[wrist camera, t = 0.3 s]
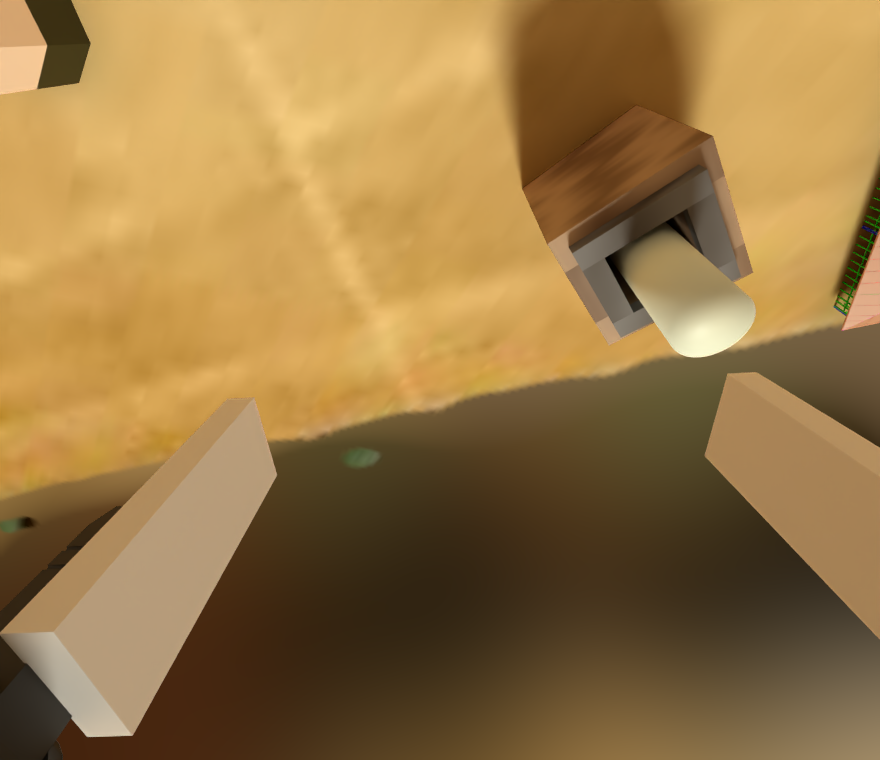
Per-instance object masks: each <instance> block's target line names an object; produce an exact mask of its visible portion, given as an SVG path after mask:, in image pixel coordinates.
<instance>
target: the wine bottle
mask: <svg viewBox="0 0 880 760" xmlns="http://www.w3.org/2000/svg"><path fill="white" fill-rule="evenodd" d="M89 47H90V42H89V39H88V37H87V35H86V33H85V31H84V28H83V26H82V24H81V22H80V19H79V17H78V15H77V13H76V11H75V8H74V6H73V4H72V2H71V0H0V94H7V93H14V92H21V91H27V90H34V89H41V88H48V87H55V86H62V85H68V84H75V83H79V81H80V77H81V74H82V71H83V67H84V64H85V60H86V57H87V54H88V50H89Z"/></svg>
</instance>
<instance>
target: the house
mask: <svg viewBox="0 0 880 760" xmlns="http://www.w3.org/2000/svg"><path fill="white" fill-rule="evenodd" d="M879 179H880V178H879ZM876 189H878V190H880V188H878V187H877V188H876ZM872 198H874V199H876V200H879V201H880V199H878V198H875V197H872ZM869 207H870V208H872V209H874V210H877V211H879V212H880V210H879V209H876V208H874V207H871V206H869ZM866 216H867V217H869V218H871V219H873V220H876V221H877V222H876V225H875V224H873V223H870V222H868V221H866V220H864V222H867V223H869V224H871V225H872V226H874V227H875V229H874V230H872V229H870V228H868V227H866V226H864V225H863V227H861V228H862V229H864V230H866V231H869V232H871V233H872V235H871V238H870V240H868V239H866V238H864V237H862V236H859V237H861V238H863V239H864V240H866V241H868V242H869V245H868V247H867V249H866V248H864V247H862V246H861V245H859V244H855V245H857V246H859V247H861V248H863V249H865V250H866V251H865V254H864V257H863V256H861V255H859V254H858V253H856V252H853V253H854V254H856V255H858V256H860V257H862V258H863V261H862V263H861V265H860V264H859V263H857V262H855V261H853V260H852V259H851V260H850V261H852V262H854V263H856V264H857V265H859V266H860V267H859V270H858V272H856V271H855V270H853V269H851V268H850V267H847V268H848V269H850V270H852V271H853V272H855V273H857V277H856V279H855V280H854V279H853V278H851V277H850V276H848V275H845V276H847V277H848V278H850V279H852V280H853V281H854V283H853V286H852V287H851V286H850V285H848V284H847V283H845V282H842V283H844V284H845V285H847V286H848V287H850V288H852V290H851V293H850V294H848V293H847V292H845V291H844V290H842V289H840V290H841V291H843V292H844V293H846V294H847V295H849V297H848V299H847V301H846V300H845V299H843V298H842V297H840V296H838V297H839V298H840V299H842V300H843V301H845V302H846V304H844V305H845V306H844V305H843V304H841V303H840V302H839V301H836V302H837V303H839V304H840V305H842V306H843V307H844V310H841V309H840V308H838V307H837V306H836V305H834V308H836V309H837V310H838V311H840V312H841V313H843V314H844V315H845V316H846V318H845V321H844V323H843V326H842V328H841V330H842V331H843V330H847V329H852V328H857V327H862V326H866V325H871V324H876V323H880V227H879V226H877V224H878V222H880V221H879V220H880V215H879V218H878V220H877V219H875V218H873V217H871V216H868V215H866ZM876 228H879V230H877V231H875V230H876ZM878 231H879V232H878ZM873 234H875V235H877V237H876V240H875V242H872V241H871V240H872V237H873ZM870 243H872V244H874V245H873V247H872V250H871V251H870V250H868V249H869V246H870ZM867 251H869V252H870V255H869V258H868V259H867V258H865V255H866V253H867ZM864 259H865V260H867V263H866V266H865V267H864V266H862V265H863V262H864ZM861 267H862V268H864V271H863V274H862V275H861V274H860V273H859V271H860V269H861ZM858 275H860V276H861V279H860V281H859V282H858V281H857V278H858ZM855 282H856V283H858V287H857V289H854V288H853V287H854V285H855ZM853 290H855V291H856V292H855V294H854V297H853V296H851V294H852V291H853ZM850 297H852V298H853V300H852V302H851V304H850V303H849V302H848V301H849V298H850ZM847 304H849V305H850V307H849V306H848V305H847ZM847 307H848V308H849V309H848V308H847ZM845 309H847V310H848V312H844V311H845Z"/></svg>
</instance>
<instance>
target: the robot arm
mask: <svg viewBox="0 0 880 760" xmlns="http://www.w3.org/2000/svg"><path fill="white" fill-rule="evenodd" d="M705 457H706V458H707V459H708V460H709V461H710V462H711V463H712V464H713V465H714V466H715V467H716V468H717V469H718V470H719V471H720V472H721V473H722V475H723V476H724V477H725V478H726V479H727V480H728V481H729V482H730V483H731V484H732V485H733V486H734V487H735V488H736V489H737V490H738V491H739V492H740V493H741V494H742V495H743V497H745V499H746V500H747V501H748V502H749V503H750V504H751V505H752V506H753V507H754V508H755V509H756V510H757V511H758V512H759V513H760V514H761V515H762V516H763V517H764V519H765V520H766V521H767V522H768V523H769V524H770V525H771V526H772V527H773V528H774V529H775V530H776V531H777V532H778V533H779V534H780V535H781V536H782V537H783V539H784V540H785V541H786V542H787V543H788V544H789V545H790V546H791V547H792V548H793V549H794V550H795V551H796V552H797V553H798V554H799V555H800V556H801V557H802V558H803V560H804V561H805V562H806V563H808V565H809V566H810V567H811V568H812V569H813V570H814V571H815V572H816V573H817V574H818V575H819V576H820V577H821V578H822V579H823V580H824V581H825V583H826V584H827V585H828V586H829V587H830V588H831V589H832V590H833V591H834V592H835V593H836V594H837V595H838V596H839V597H840V598H841V599H842V600H843V601H844V602H845V603H846V605H847V606H848V607H849V608H850V609H851V610H852V611H853V612H854V613H855V614H856V615H857V616H858V617H859V618H860V619H861V620H862V621H863V622H864V623H865V625H866V626H868V628H869V629H870V630H871V631H872V632H873V633H874V634H875V635H876V636H877V637H878V638H879V639H880V448H879V447H878V446H876V445H874V444H873V443H871V442H869V441H868V440H866V439H864V438H863V437H861V436H859V435H858V434H856V433H855V432H853V431H851V430H850V429H848V428H846V427H845V426H843V425H842V424H840V423H838V422H837V421H835V420H833V419H832V418H830V417H829V416H827V415H825V414H824V413H822V412H820V411H818V410H817V409H815V408H814V407H812V406H811V405H809V404H807V403H806V402H804V401H802V400H801V399H799V398H797V397H796V396H794V395H793V394H791V393H789V392H788V391H786V390H784V389H783V388H781V387H779V386H778V385H776V384H775V383H773V382H771V381H770V380H768V379H766V378H765V377H763V376H761V375H760V374H758V373H756V372H753V373H733V374H728V375H727V378H726V382H725V385H724V389H723V392H722V396H721V400H720V403H719V407H718V410H717V414H716V418H715V421H714V424H713V428H712V432H711V436H710V439H709V442H708V446H707V449H706V453H705ZM276 476H277V473H276V470H275V467H274V464H273V460H272V456H271V453H270V450H269V446H268V443H267V439H266V436H265V433H264V429H263V426H262V422H261V419H260V416H259V412H258V409H257V405H256V402H255V399H254V398H234V399H227V400H226V401H225V402H224V403H223V404H222V405H221V406H220V407H219V408H218V409H217V410H216V411H215V412H214V413H213V414H212V415H211V416H210V417H209V418H208V419H207V420H206V421H205V422H204V423H203V424H202V425H201V426H200V428H199V429H198V430H197V431H196V432H195V433H194V434H193V435H192V436H191V437H190V438H189V439H188V440H187V441H186V442H185V443H184V444H183V445H182V446H181V447H180V448H179V449H178V450H177V451H176V452H175V453H174V454H173V455H172V456H171V457H170V458H169V459H168V460H167V461H166V462H165V463H164V465H163V466H162V467H161V468H160V469H159V470H158V471H157V472H156V473H155V474H154V475H153V476H152V477H151V478H150V479H149V480H148V481H147V482H146V483H145V484H144V485H143V486H142V487H141V488H140V489H139V490H138V491H137V492H136V493H135V494H134V495H133V496H132V497H131V499H129V500H128V502H127V503H126V504H125V505H124V506H118V507H117V506H116V507H115V508H113V509H112V510H110V511H109V512H107V513H106V514H104V515H103V516H101V517H100V518H98V519H97V520H95V521H94V522H92V523H91V524H89V525H88V526H87V527H86V528H85V529H84V530H83V531H82V532H81V533H80V534H79V535H78V536H77V537H76V538H75V539H74V540H73V541H72V542H71V543H70V544H69V545H68V546H67V550H66V551H62V552H61V553H60V554H59V555H58V556H57V557H56V558H54V559H53V561H51V562H50V563H49V565H48V568H47V569H46V570H42V571H41V572H40V573H39V574H38V575H37V576H36V577H35V578H34V579H33V580H32V581H31V582H30V583H29V584H28V585H27V586H26V587H25V588H24V589H23V590H22V591H21V592H20V593H19V594H18V595H17V596H16V597H15V598H14V599H13V600H12V601H11V602H10V603H9V604H8V605H7V606H6V607H5V608H3V610H2V611H0V760H63V754H62V751H61V748H60V745H59V743H58V742H57V741H56V739H57V738H58V736H59V735H60V733H61V732H62V730H63V729H64V728H65V726H66V725H67V723H68V722H69V720H70V719H71V718H72V719H73V721H74V722H75V723H76V724H77V725H78V727H79V728H80V729H81V730H82V731H83V732H84V734H85V735H86V736H87V737H97V736H99V737H101V736H132V735H133V734H134V732H135V730H136V728H137V727H138V725H139V723H140V721H141V719H142V717H143V716H144V714H145V712H146V710H147V708H148V707H149V705H150V703H151V701H152V699H153V698H154V696H155V694H156V692H157V690H158V689H159V687H160V685H161V683H162V681H163V679H164V677H165V676H166V674H167V672H168V671H169V669H170V667H171V665H172V663H173V662H174V660H175V658H176V656H177V654H178V652H179V651H180V649H181V647H182V645H183V643H184V642H185V640H186V638H187V636H188V634H189V633H190V631H191V629H192V627H193V626H194V624H195V622H196V620H197V618H198V617H199V615H200V613H201V611H202V609H203V607H204V606H205V604H206V602H207V600H208V599H209V597H210V595H211V593H212V591H213V589H214V588H215V586H216V584H217V582H218V580H219V579H220V577H221V575H222V573H223V571H224V570H225V568H226V566H227V564H228V562H229V561H230V559H231V557H232V555H233V553H234V552H235V549H236V548H237V546H238V544H239V543H240V541H241V539H242V537H243V535H244V534H245V532H246V530H247V528H248V526H249V525H250V523H251V521H252V519H253V517H254V515H255V514H256V512H257V510H258V508H259V507H260V505H261V503H262V501H263V499H264V498H265V496H266V494H267V492H268V490H269V489H270V487H271V485H272V483H273V481H274V480H275V478H276Z"/></svg>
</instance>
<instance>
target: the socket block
mask: <svg viewBox="0 0 880 760" xmlns="http://www.w3.org/2000/svg"><path fill="white" fill-rule="evenodd" d="M523 191H524V194H525V196H526V198H527V200H528V202H529V205H530V207H531V209H532V211H533V214H534V216H535V218H536V220H537V222H538V225H539V227H540V229H541V231H542V234H543V236H544V238H545V240H546V242H547V245H548V246H549V248H550V249H551V251H552V253H553V254H554V256H555V258H556V259H557V261H558V263H559V264H560V266H561V267H562V269H563V271H564V272H565V274H566V276H567V277H568V279H569V281H570V282H571V284H572V285H573V287H574V289H575V290H576V292H577V294H578V295H579V297H580V299H581V300H582V302H583V303H584V305H585V307H586V308H587V310H588V312H589V313H590V315H591V317H592V318H593V320H594V321H595V323H596V325H597V326H598V328H599V330H600V331H601V333H602V335H603V336H604V338H605V340H606V341H607V343H608V344H609V345H611V344H613V343H615V342H617V341H619V340H621V339H623V338H625V337H627V336H628V335H630V334H632V333H634V332H636V331H638V330H640V329H642V328H644V327H646V326H648V325H650V324H652V323H654V321H653V319H652V318H651V316H650V315H649V313H648V312H647V310H646V309H645V308H644V306H643V305H642V303H641V302H640V300H639V299H638V298H637V296H636V295H635V293H634V292H633V290H632V289H631V288H630V286H629V285H628V283H627V282H626V280H625V279H624V277H623V276H622V275H621V273H620V272H619V270H618V269H617V267H616V266H615V265H614V263H613V262H612V260H611V259H610V257H609V255H610V254H612V253H614V252H615V251H617V250H619V249H620V248H622V247H624V246H625V245H627V244H629V243H630V242H632V241H634V240H635V239H637V238H639V237H640V236H642V235H644V234H645V233H647V232H649V231H650V230H652V229H654V228H655V227H657V226H659V225H660V224H662V223H664V222H666V223H667V224H669V225H670V226H671V227H672V228H673V229H674V230H675V231H676V232H678V233H679V234H680V235H681V236H682V237H683V238H684V239H685V240H686V241H688V242H689V243H690V244H691V245H692V246H693V247H694V248H695V249H696V250H698V251H699V252H700V253H701V254H702V255H703V256H704V257H705V258H707V259H708V260H709V261H710V262H711V263H712V264H713V265H714V266H715V267H717V268H718V269H719V270H720V271H721V272H722V273H723V274H724V275H725V276H727V277H728V278H729V279H730V280H731V281H732V282H735V281H737V280H739V279H741V278H743V277H745V276H747V275H749V274H751V273H753V271H752V267H751V264H750V260H749V257H748V254H747V250H746V247H745V243H744V240H743V237H742V233H741V230H740V226H739V223H738V220H737V216H736V213H735V209H734V206H733V203H732V199H731V196H730V192H729V189H728V186H727V182H726V179H725V175H724V172H723V169H722V165H721V162H720V158H719V155H718V152H717V148H716V145H715V141H714V138H713V136H712V135H709V134H707V133H704V132H702V131H700V130H697V129H695V128H692V127H690V126H687V125H685V124H682V123H680V122H677V121H675V120H673V119H670V118H668V117H665V116H663V115H660V114H658V113H655V112H653V111H650V110H648V109H646V108H643V107H641V106H638V105H636V106H634V107H633V108H632V109H630V110H629V111H627V112H626V113H625V114H623V115H622V116H621V117H619V118H618V119H617V120H615V121H614V122H612V123H611V124H610V125H608V126H607V127H606V128H604V129H603V130H602V131H600V132H599V133H597V134H596V135H595V136H593V137H592V138H591V139H589V140H588V141H587V142H585V143H584V144H583V145H581V146H580V147H578V148H577V149H576V150H574V151H573V152H572V153H570V154H569V155H568V156H566V157H565V158H563V159H562V160H561V161H559V162H558V163H557V164H555V165H554V166H553V167H551V168H550V169H548V170H547V171H546V172H544V173H543V174H542V175H540V176H539V177H538V178H536V179H535V180H534V181H532V182H531V183H529V184H528V185H527V186H525V187H524V188H523Z"/></svg>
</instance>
